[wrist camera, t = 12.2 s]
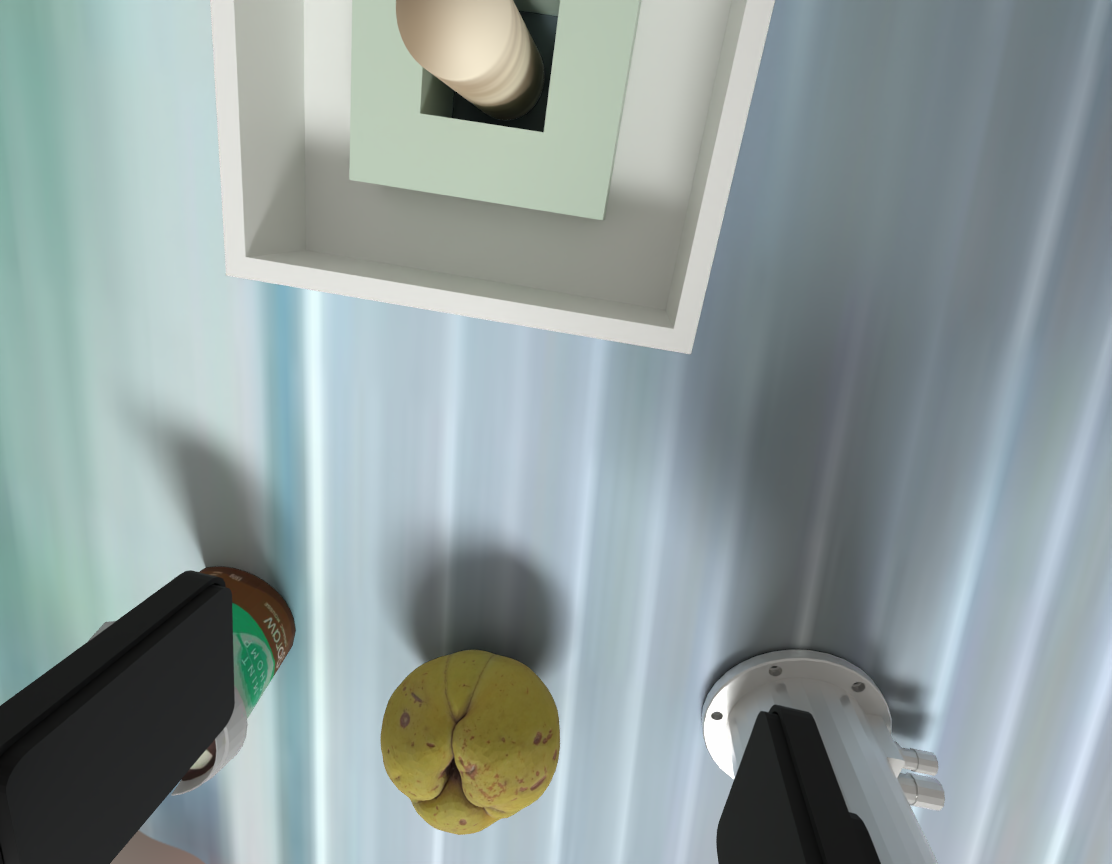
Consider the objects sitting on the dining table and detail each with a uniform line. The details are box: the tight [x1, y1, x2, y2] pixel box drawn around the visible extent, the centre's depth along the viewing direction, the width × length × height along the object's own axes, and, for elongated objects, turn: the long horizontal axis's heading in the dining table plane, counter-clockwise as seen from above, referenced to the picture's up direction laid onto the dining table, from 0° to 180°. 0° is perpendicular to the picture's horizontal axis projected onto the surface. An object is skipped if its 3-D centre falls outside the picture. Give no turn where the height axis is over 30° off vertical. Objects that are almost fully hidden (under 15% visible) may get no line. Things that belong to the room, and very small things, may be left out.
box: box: [210, 0, 775, 354], centre depth 26 cm, size 22×22×7 cm
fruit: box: [381, 650, 560, 835], centre depth 39 cm, size 11×12×10 cm
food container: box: [89, 566, 296, 796], centre depth 39 cm, size 12×6×10 cm, turn 15°
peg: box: [396, 0, 545, 120], centre depth 25 cm, size 4×4×10 cm
